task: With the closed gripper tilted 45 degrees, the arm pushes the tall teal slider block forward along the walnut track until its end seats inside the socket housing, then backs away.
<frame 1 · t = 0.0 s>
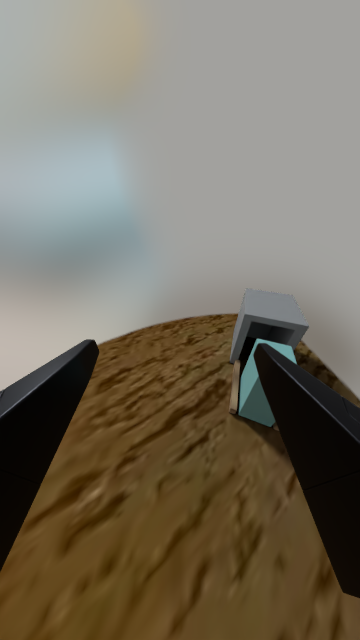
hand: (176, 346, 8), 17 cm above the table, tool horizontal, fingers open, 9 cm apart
socket: (252, 349, 31), on the table
slider: (263, 375, 21), point 5 cm above the table, slide at 0.0 cm
track: (252, 391, 24), on the table
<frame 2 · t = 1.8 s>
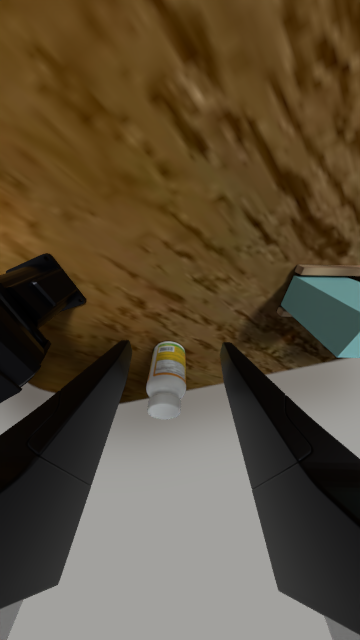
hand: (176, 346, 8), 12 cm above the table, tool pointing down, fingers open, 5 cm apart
slider: (351, 310, 15), point 5 cm above the table, slide at 0.0 cm
supplement bottle: (169, 350, 26), on the table
track: (321, 291, 19), on the table
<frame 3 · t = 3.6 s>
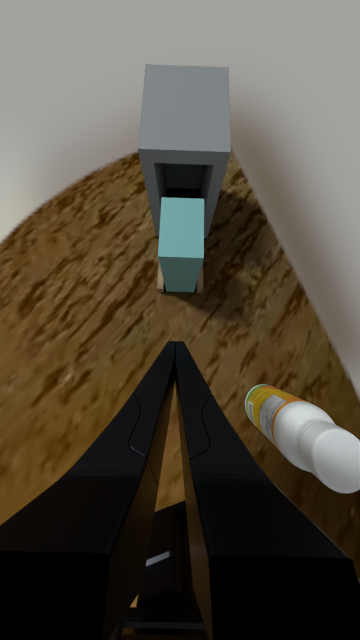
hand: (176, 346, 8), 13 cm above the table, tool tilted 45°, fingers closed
socket: (182, 209, 24), on the table
slider: (181, 247, 18), point 5 cm above the table, slide at 0.0 cm
supplement bottle: (263, 404, 20), on the table
track: (181, 264, 23), on the table
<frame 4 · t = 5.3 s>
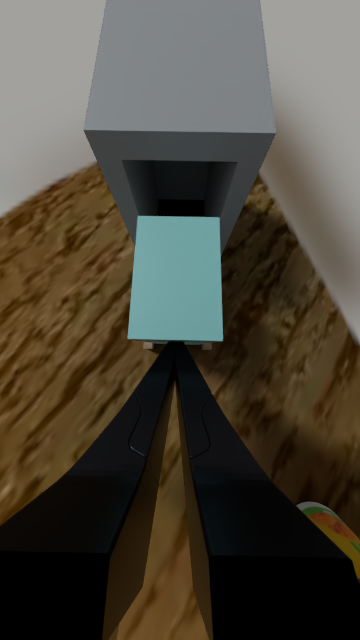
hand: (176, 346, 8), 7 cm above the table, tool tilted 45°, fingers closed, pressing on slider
socket: (180, 228, 18), on the table
slider: (178, 289, 11), point 5 cm above the table, slide at 0.5 cm, touching gripper
supplement bottle: (310, 533, 13), on the table
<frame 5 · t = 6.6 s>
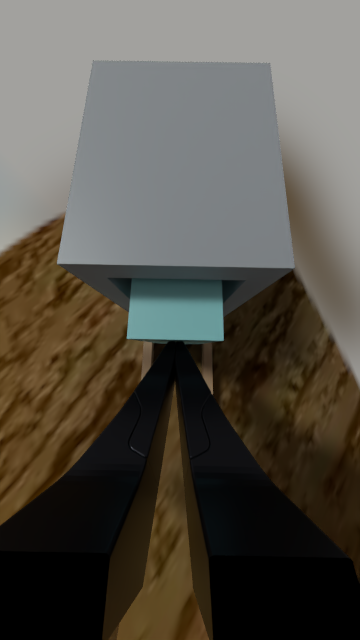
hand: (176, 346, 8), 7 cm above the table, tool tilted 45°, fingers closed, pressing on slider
socket: (179, 275, 17), on the table
slider: (178, 288, 11), point 5 cm above the table, slide at 6.6 cm, touching gripper
track: (177, 365, 15), on the table
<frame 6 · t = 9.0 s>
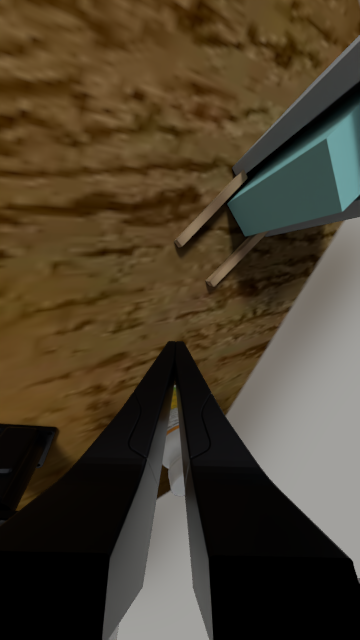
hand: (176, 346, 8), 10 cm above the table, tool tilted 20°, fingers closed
socket: (283, 171, 16), on the table
slider: (305, 170, 12), point 5 cm above the table, slide at 6.7 cm
supplement bottle: (169, 397, 23), on the table
track: (221, 235, 17), on the table
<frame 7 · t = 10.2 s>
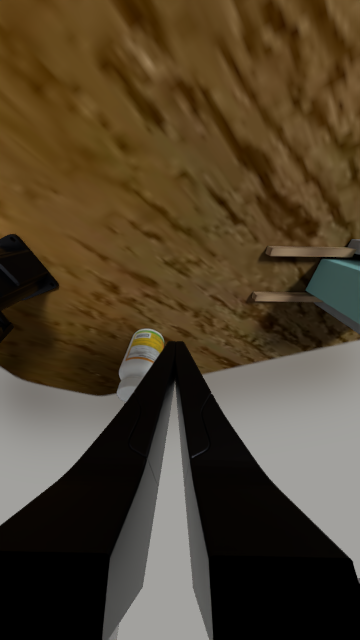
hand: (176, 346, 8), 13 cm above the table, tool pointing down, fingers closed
supplement bottle: (148, 339, 26), on the table
track: (294, 274, 19), on the table
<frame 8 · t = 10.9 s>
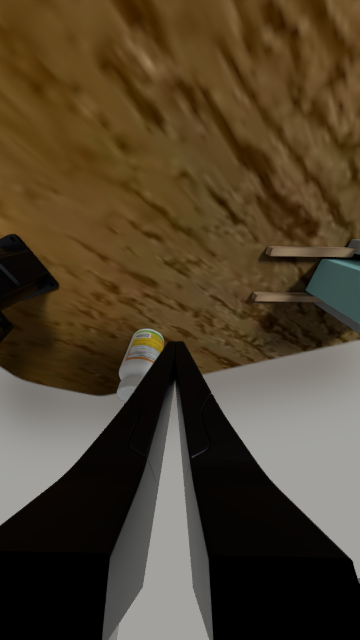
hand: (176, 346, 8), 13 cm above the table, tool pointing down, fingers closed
supplement bottle: (148, 339, 26), on the table
track: (294, 274, 19), on the table
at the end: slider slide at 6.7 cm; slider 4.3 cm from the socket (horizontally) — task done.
